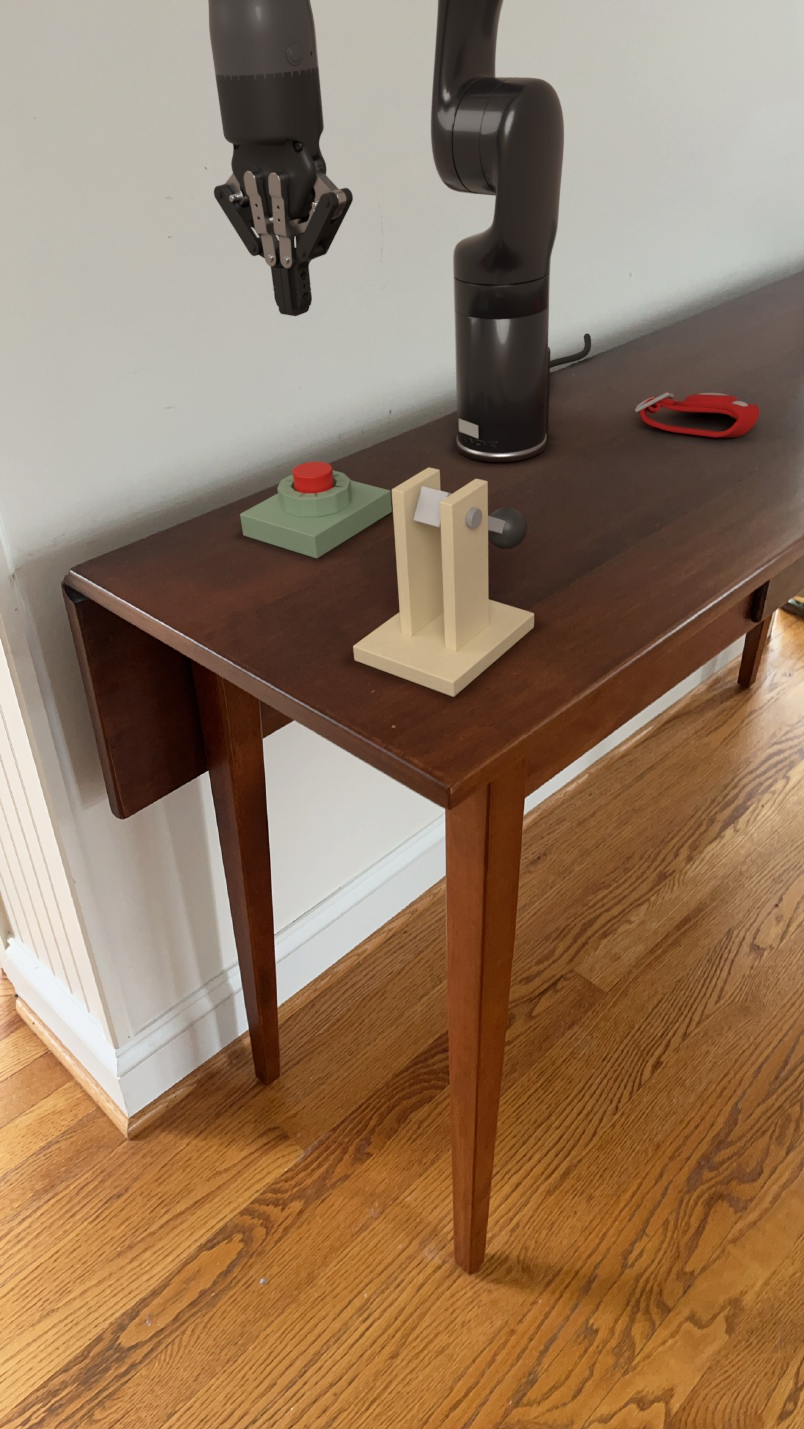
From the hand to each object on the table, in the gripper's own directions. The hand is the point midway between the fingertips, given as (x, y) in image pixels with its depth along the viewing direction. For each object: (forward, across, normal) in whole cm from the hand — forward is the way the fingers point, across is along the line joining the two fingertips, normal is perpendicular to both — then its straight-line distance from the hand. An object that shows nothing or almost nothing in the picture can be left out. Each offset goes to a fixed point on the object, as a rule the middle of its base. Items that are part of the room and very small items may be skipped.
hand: (294, 312), depth 84 cm
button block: (+19, 0, 0) cm, 19 cm away
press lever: (+12, -22, +7) cm, 26 cm away
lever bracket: (+19, -22, +11) cm, 31 cm away
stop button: (+15, 0, 0) cm, 15 cm away
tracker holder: (+19, -20, -39) cm, 48 cm away
